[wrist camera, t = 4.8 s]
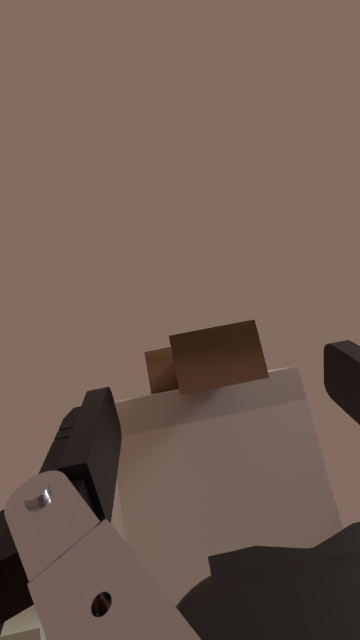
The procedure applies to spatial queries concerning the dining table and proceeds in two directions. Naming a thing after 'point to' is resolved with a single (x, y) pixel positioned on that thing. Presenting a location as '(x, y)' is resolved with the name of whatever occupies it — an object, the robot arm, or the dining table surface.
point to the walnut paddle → (207, 359)
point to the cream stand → (221, 476)
